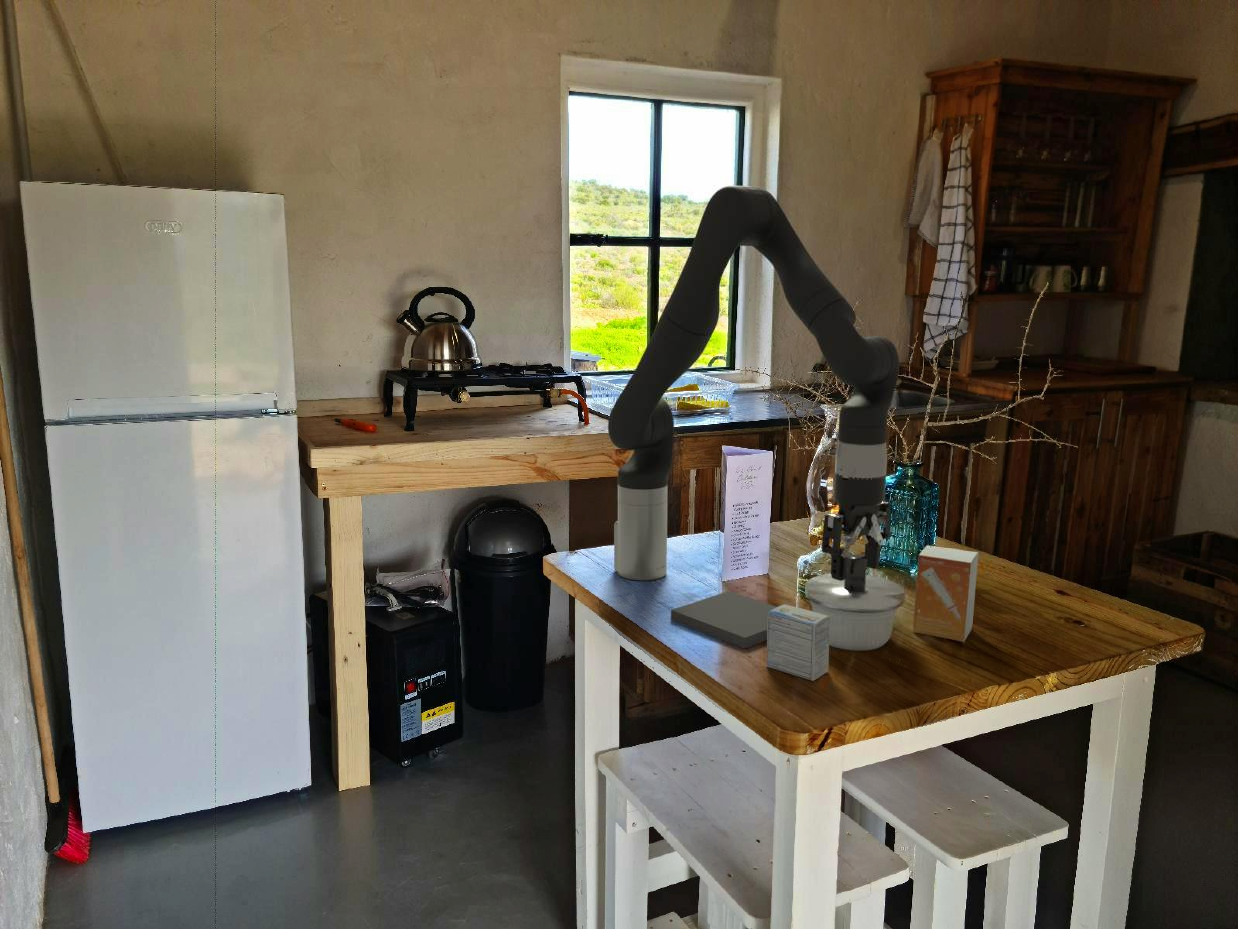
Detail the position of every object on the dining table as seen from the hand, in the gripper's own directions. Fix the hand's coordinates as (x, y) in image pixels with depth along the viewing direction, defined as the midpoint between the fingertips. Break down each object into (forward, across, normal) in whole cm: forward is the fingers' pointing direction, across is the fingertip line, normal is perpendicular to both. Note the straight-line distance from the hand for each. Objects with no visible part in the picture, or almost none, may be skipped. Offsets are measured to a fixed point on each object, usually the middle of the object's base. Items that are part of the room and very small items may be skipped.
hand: (855, 573), depth 150 cm
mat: (+10, +9, -16) cm, 21 cm away
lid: (+4, 0, 0) cm, 4 cm away
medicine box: (+11, +16, +2) cm, 20 cm away
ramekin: (+11, 0, 0) cm, 11 cm away
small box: (+11, -13, +8) cm, 19 cm away
